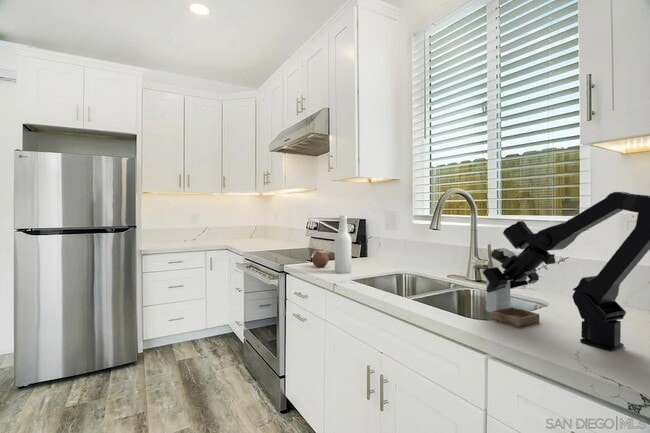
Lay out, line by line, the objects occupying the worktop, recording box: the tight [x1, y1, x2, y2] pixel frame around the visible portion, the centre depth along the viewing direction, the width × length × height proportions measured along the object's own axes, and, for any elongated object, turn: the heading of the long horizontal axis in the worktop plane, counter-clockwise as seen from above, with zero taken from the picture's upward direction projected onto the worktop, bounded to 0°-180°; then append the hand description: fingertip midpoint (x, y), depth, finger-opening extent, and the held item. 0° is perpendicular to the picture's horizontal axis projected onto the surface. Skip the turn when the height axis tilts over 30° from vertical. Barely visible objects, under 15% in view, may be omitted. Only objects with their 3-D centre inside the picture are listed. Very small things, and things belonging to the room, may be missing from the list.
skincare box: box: [485, 277, 511, 314], centre depth 107 cm, size 6×4×12 cm
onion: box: [311, 251, 329, 268], centre depth 192 cm, size 10×9×10 cm
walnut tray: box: [491, 306, 540, 329], centre depth 98 cm, size 8×10×2 cm
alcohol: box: [334, 214, 352, 274], centre depth 176 cm, size 9×9×30 cm
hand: (494, 290), depth 109 cm, fingers closed on skincare box, 6 cm apart
